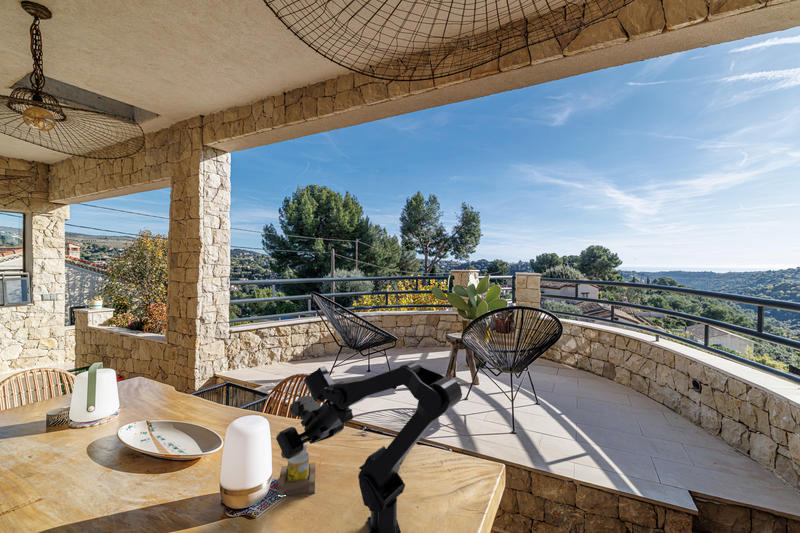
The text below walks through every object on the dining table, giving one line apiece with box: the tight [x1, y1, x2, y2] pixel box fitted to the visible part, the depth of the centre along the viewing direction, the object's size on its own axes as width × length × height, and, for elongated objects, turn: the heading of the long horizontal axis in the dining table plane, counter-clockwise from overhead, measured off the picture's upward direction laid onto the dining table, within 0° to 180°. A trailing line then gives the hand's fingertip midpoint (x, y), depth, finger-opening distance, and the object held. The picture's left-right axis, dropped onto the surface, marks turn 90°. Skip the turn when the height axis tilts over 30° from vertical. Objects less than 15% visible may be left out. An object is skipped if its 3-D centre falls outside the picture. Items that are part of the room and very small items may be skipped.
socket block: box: [276, 462, 316, 498], centre depth 91 cm, size 9×9×3 cm
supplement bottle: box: [287, 443, 310, 481], centre depth 91 cm, size 5×5×10 cm
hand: (296, 448), depth 91 cm, fingers open, 9 cm apart
